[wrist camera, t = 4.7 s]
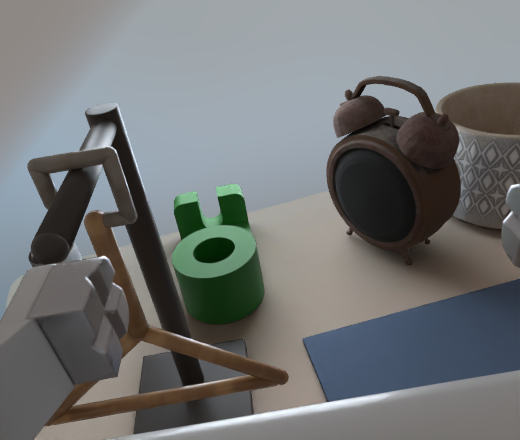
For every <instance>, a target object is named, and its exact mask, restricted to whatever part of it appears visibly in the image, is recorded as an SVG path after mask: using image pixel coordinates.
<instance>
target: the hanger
mask: <svg viewBox="0 0 520 440" xmlns="http://www.w3.org/2000/svg"><path fill="white" fill-rule="evenodd" d="M97 165H103V168H104V171H105V173H106V176H107V179H108V182H109V184H110V187H111V190H112V193H113V196H114V199H115V201H116V204H117V207H118V211H112V212H106V213H103V212H102V211H98V210H94V211H91V212H89V213H88V214H87V215H86V217H85V219H84V225H85V228H86V230H87V233H88V235H89V237H90V240H91V242H92V245H93V247H94V250H95V252H96V255H97V257H101V256H105V257H107V258H108V259H109V260H110V262H111V264H112V266H113V268H114V270H115V274H114V278H113V283H115V284H116V285H118V286H119V287H121V288H122V289H123V292H124V294H125V296H126V300H127V304H128V310H129V324H128V329H127V330H128V331H127V333H126V334H125V335H124V336H123V337H122V338H121V339H120V340H119V341H120V344H121V346H122V348H123V353H122V358H123V357H124V356H125V355H126V354H127V353H128V352H129V351H131V350H132V349H133V348H134V347H135V346H136V345H137V344H138V343H139V342H140V341H144V342H147V343H150V344H153V345H156V346H160V347H163V348H166V349H169V350H172V351H175V352H178V353H182V354H185V355H188V356H191V357H194V358H197V359H200V360H204V361H207V362H210V363H213V364H216V365H219V366H222V367H225V368H229V369H232V370H235V371H238V372H241V373H244V374H247V375H246V376H241V377H235V378H229V379H224V380H218V381H212V382H207V383H201V384H195V385H189V386H184V387H178V388H172V389H167V390H161V391H155V392H150V393H144V394H138V395H133V396H127V397H121V398H116V399H110V400H104V401H98V402H93V403H87V404H81V405H76V406H73V405H74V404H75V403H76V402H77V401H78V400H79V399H80V398H81V397H82V396H83V395H84V394H85V393H86V392H87V391H88V390H89V389H91V388H92V387H93V386H94V385H95V384H96V383H97V382H98V381H99V380H98V381H93V382H88V383H83V384H78V385H74V386H75V388H74V389H73V390H72V392H71V393H70V394H69V396H68V397H67V398H66V399H65V401H64V402H63V403H62V404H61V406H60V407H59V408H58V409H57V411H56V412H55V413H54V414H53V416H52V417H51V418H50V419H49V421H48V422H47V423H46V424H45V426H50V425H58V424H63V423H69V422H75V421H80V420H86V419H92V418H97V417H103V416H109V415H114V414H120V413H126V412H131V411H137V410H143V409H148V408H154V407H160V406H165V405H171V404H177V403H182V402H188V401H194V400H199V399H205V398H211V397H216V396H222V395H228V394H233V393H239V392H245V391H250V390H256V389H262V388H267V387H273V386H277V385H283V384H285V383H286V382H287V381H288V374H287V372H286V371H285V370H282V369H279V368H276V367H273V366H270V365H267V364H264V363H261V362H258V361H255V360H252V359H249V358H246V357H243V356H240V355H237V354H234V353H231V352H228V351H225V350H222V349H219V348H216V347H213V346H210V345H207V344H204V343H201V342H198V341H195V340H192V339H189V338H186V337H183V336H180V335H177V334H174V333H171V332H168V331H165V330H162V329H159V328H156V327H153V326H150V325H148V324H147V321H146V318H145V316H144V313H143V310H142V308H141V305H140V302H139V300H138V297H137V294H136V292H135V289H134V286H133V283H132V281H131V278H130V275H129V273H128V270H127V267H126V265H125V262H124V259H123V257H122V254H121V251H120V249H119V246H118V243H117V241H116V238H115V235H114V233H113V230H112V227H116V226H122V225H128V224H133V223H134V222H135V221H136V220H137V212H136V209H135V206H134V203H133V200H132V197H131V194H130V191H129V188H128V185H127V182H126V179H125V176H124V173H123V170H122V167H121V164H120V161H119V158H118V155H117V152H116V150H115V149H114V148H112V147H109V146H106V147H100V148H94V149H88V150H82V151H77V152H71V153H65V154H59V155H53V156H47V157H41V158H36V159H32V160H30V161H29V163H28V171H29V173H30V175H31V177H32V179H33V182H34V184H35V186H36V188H37V190H38V193H39V195H40V197H41V199H42V201H43V204H44V206H45V207H46V208H47V209H48V210H49V208H50V206H51V204H52V202H53V200H54V198H55V196H56V194H57V190H56V187H55V185H54V183H53V181H52V178H51V176H50V173H56V172H61V171H68V170H74V169H79V168H85V167H91V166H97ZM122 358H121V359H122Z"/></svg>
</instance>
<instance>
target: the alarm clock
mask: <svg viewBox="0 0 520 440" xmlns="http://www.w3.org/2000/svg"><path fill="white" fill-rule="evenodd" d="M368 84H384V85H389V86H395V87H399V88H402V89H404V90H406V91H408V92H410V93H412V94H414V95H415V96H416V97H417V98H418V100H419V102H420V104H421V106H422V108H423V110H424V112H421V113H418V114H416V115H414V116H412V117H411V118H406V117H401V116H398V115H399V111H398V110H396V109H392V108H384V107H383V105H382V104H381V102H380V101H379V100H378V99H376V98H374V97H372V96H360V95H361V93H362V92H363V90H364V88H365V87H366V85H368ZM345 97H346V100H348V101H345V102H343V103H341V104H340V107H339V108H338V109H337V111H336V113H335V115H334V118H333V125H334V129H335V133H336V136H337V138H339V137H341V136H344V135H346V134H349V133H350V134H349V135H348V136H346V137H345V138H344V139H342V140H341V141H340V142H339V143H338V144H336V146H335V147H334V148H333V150H332V151H331V154H330V156H329V159H328V163H327V183H328V188H329V192H330V195H331V198H332V200H333V203H334V205H335V207H336V209H337V211H338V212H339V214H340V215H341V217H342V218H343V220H344V221H345V222H346V224H347V225H348V226H349V227H350V228H349V230H347V234H348V235H352V232H353V231H354V232H355V233H356V234H357V235H358V236H360V237H361V238H362V239H364V240H365V241H367V242H368V243H370V244H372V245H374V246H376V247H379V248H382V249H386V250H391V251H400V252H401V253H402V255H403V256H404V258H405V259H406V264H407V265H411V264H412V260H411V259H410V257H409V254H408V250H407V249H408V248H411V247H413V246H415V245H416V244H418V243H420V242H422V241H423V240H425V244H430V240H428V237H430V236H431V235H433V234H434V233H435V232H437V231H438V230H439V229H440V228H441V227H442V226H443V224H444V223H445V222H446V221H447V220H448V219H449V218H450V217H451V216H452V215H453V214H454V212H455V210H456V208H457V206H458V203H459V200H460V194H461V181H460V175H459V171H458V168H457V165H456V162H455V160H454V156H455V154H456V152H457V149H458V146H459V142H460V138H459V133H458V130H457V128H456V127H455V125H454V124H453V123H452V122H451V121H450V120H449V119H448V115H447V114H442V115H441V114H438V113H435V111H434V109H433V106H432V104H431V102H430V100H429V97H428V96H427V93H426V92H425V91H424V90H423V89H422V88H421V87H419V86H417V85H415V84H413V83H411V82H409V81H406V80H402V79H397V78H391V77H382V76H377V77H371V78H367V79H365V80H363V81H361V82H360V83H359V84H358V86H357V87H356V89H355V92H354V93H352V91H350V90H346V91H345ZM386 115H390V116H389V117H384V116H386ZM382 117H384V118H382ZM351 132H352V133H351Z"/></svg>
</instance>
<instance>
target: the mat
mask: <svg viewBox="0 0 520 440" xmlns="http://www.w3.org/2000/svg"><path fill="white" fill-rule="evenodd" d="M303 342H304V345H305V347H306V349H307V352H308V354H309V357H310V359H311V362H312V364H313V367H314V369H315V372H316V374H317V377H318V379H319V381H320V384H321V386H322V389H323V391H324V394H325V396H326V399H327V401H328V402H331V401H337V400H343V399H349V398H355V397H361V396H367V395H373V394H379V393H385V392H391V391H397V390H403V389H409V388H415V387H421V386H427V385H433V384H439V383H445V382H451V381H457V380H463V379H469V378H475V377H481V376H487V375H493V374H499V373H505V372H511V371H517V370H520V279H517V280H514V281H510V282H506V283H503V284H499V285H495V286H492V287H488V288H485V289H481V290H477V291H474V292H470V293H466V294H463V295H459V296H456V297H452V298H448V299H445V300H441V301H437V302H434V303H430V304H426V305H423V306H419V307H416V308H412V309H408V310H405V311H401V312H397V313H394V314H390V315H387V316H383V317H379V318H376V319H372V320H368V321H365V322H361V323H358V324H354V325H350V326H347V327H343V328H339V329H336V330H332V331H328V332H325V333H321V334H318V335H314V336H310V337H307V338H303Z"/></svg>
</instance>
